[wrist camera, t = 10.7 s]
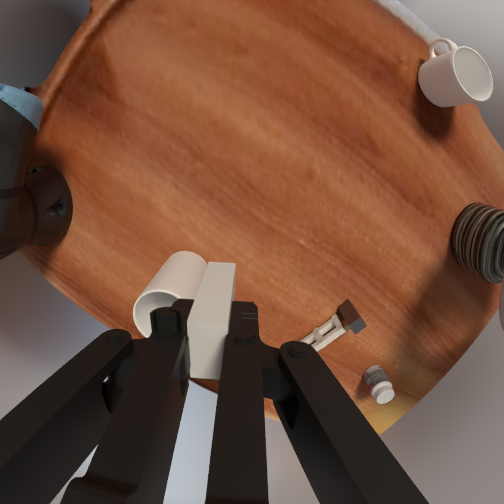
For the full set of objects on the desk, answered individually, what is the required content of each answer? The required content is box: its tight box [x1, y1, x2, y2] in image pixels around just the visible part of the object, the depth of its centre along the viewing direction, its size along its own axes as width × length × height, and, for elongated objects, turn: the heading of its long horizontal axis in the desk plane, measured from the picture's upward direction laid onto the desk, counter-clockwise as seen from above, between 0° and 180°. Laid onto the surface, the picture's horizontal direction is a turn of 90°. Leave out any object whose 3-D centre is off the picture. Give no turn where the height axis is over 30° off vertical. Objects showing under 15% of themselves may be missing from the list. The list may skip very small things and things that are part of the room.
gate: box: [298, 314, 346, 351], centre depth 53 cm, size 14×1×5 cm, turn 130°
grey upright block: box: [335, 299, 366, 336], centre depth 51 cm, size 3×5×7 cm, turn 131°
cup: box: [133, 251, 208, 338], centre depth 44 cm, size 8×8×16 cm
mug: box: [418, 38, 493, 107], centre depth 35 cm, size 10×12×12 cm
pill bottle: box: [364, 365, 395, 404], centre depth 55 cm, size 5×5×8 cm
